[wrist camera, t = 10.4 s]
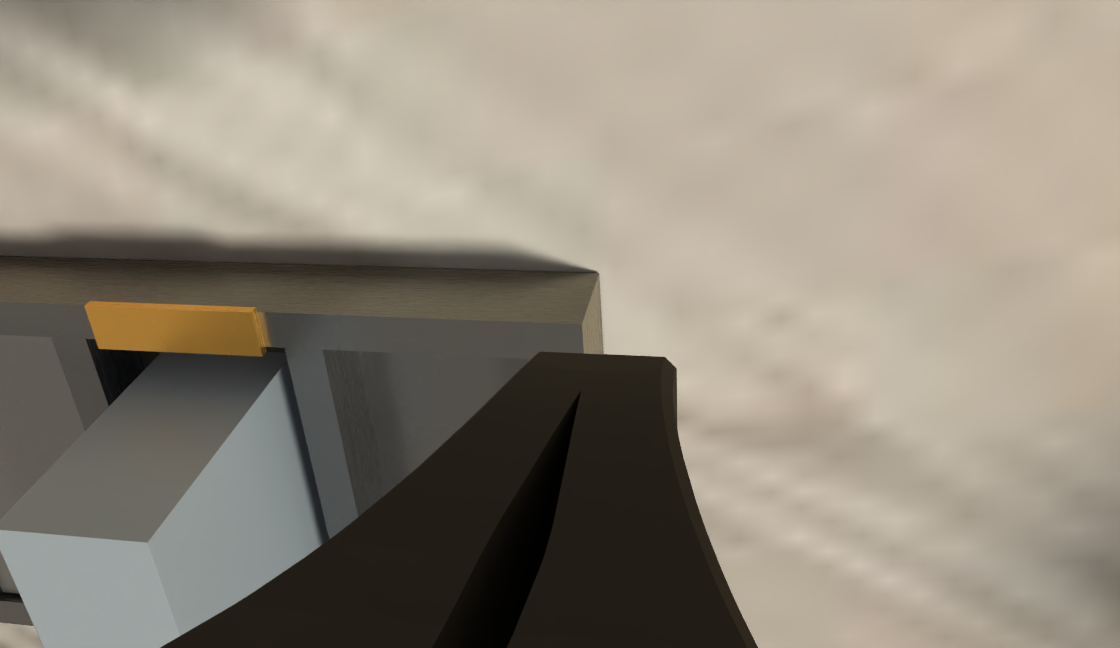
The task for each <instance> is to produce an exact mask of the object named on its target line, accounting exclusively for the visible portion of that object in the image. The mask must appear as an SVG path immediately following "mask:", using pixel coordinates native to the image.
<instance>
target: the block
mask: <svg viewBox="0 0 1120 648" xmlns="http://www.w3.org/2000/svg"><path fill="white" fill-rule="evenodd" d="M328 540H329V536H328V532H327V527H326V523H325V519H324V514H323V510H322V506H321V502H320V497H319V493H318V489H317V485H316V480H315V476H314V472H313V468H312V463H311V459H310V455H309V450H308V446H307V442H306V438H305V433H304V429H303V425H302V421H301V416H300V412H299V408H298V404H297V399H296V395H295V391H294V386H293V382H292V378H291V374H290V369H289V365H288V361H287V357H286V353H281V352H266V353H265V354H264V355H263V356H262V357H260V356H239V355H218V354H196V353H175V352H161V353H160V354H159V355H158V356H157V357H156V358H155V359H154V360H153V361H152V362H151V364H150V365H149V366H148V367H147V368H146V369H145V370H144V371H143V372H142V373H141V374H140V375H139V376H138V377H137V378H136V379H135V380H134V381H133V382H132V383H131V384H130V385H129V386H128V387H127V388H126V389H125V390H124V391H123V393H122V394H121V395H120V396H119V397H118V398H117V399H116V400H115V401H114V402H113V403H112V404H111V405H110V406H109V407H108V408H107V409H106V410H105V411H104V412H103V413H102V414H101V415H100V416H99V417H98V418H97V419H96V421H95V422H94V423H93V424H92V425H91V426H90V427H89V428H88V429H87V430H86V431H85V432H84V433H83V434H82V435H81V436H80V437H79V438H78V439H77V440H76V441H75V442H74V443H73V444H72V445H71V446H70V447H69V448H68V450H67V451H66V452H65V453H64V454H63V455H62V456H61V457H60V458H59V459H58V460H57V461H56V462H55V463H54V464H53V465H52V466H51V467H50V468H49V469H48V470H47V471H46V472H45V473H44V474H43V475H42V476H41V477H40V479H39V480H38V481H37V482H36V483H35V484H34V485H33V486H32V487H31V488H30V489H29V490H28V491H27V492H26V493H25V494H24V495H23V496H22V497H21V498H20V499H19V500H18V501H17V502H16V503H15V504H14V505H13V507H12V508H11V509H10V510H9V511H8V512H7V513H6V514H5V515H4V516H3V517H2V518H1V519H0V551H1V553H2V555H3V558H4V560H5V562H6V564H7V567H8V569H9V571H10V573H11V575H12V578H13V580H14V582H15V584H16V587H17V589H18V591H19V593H20V596H21V598H22V600H23V602H24V605H25V607H26V609H27V611H28V614H29V616H30V618H31V620H32V622H33V625H34V627H35V629H36V631H37V634H38V636H39V638H40V640H41V643H42V645H43V647H44V648H160V647H162V646H164V645H165V644H167V643H169V642H171V641H172V640H174V639H176V638H177V637H179V636H181V635H183V634H184V633H186V632H188V631H189V630H191V629H193V628H195V627H196V626H198V625H200V624H201V623H203V622H205V621H207V620H208V619H210V618H212V617H213V616H215V615H217V614H219V613H220V612H222V611H224V610H225V609H227V608H229V607H231V606H232V605H234V604H236V603H237V602H239V601H240V600H242V599H243V598H245V597H247V596H248V595H250V594H251V593H253V592H254V591H256V590H257V589H259V588H260V587H262V586H263V585H265V584H266V583H268V582H269V581H271V580H272V579H274V578H275V577H277V576H278V575H279V574H281V573H282V572H284V571H285V570H287V569H288V568H290V567H291V566H293V565H294V564H296V563H297V562H299V561H300V560H302V559H303V558H305V557H306V556H307V555H309V554H310V553H311V552H313V551H314V550H316V549H317V548H318V547H320V546H321V545H322V544H324V543H325V542H327V541H328Z"/></svg>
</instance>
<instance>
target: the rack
mask: <svg viewBox="0 0 1120 648" xmlns="http://www.w3.org/2000/svg"><path fill="white" fill-rule="evenodd" d="M161 352H175V353H196V354H218V355H239V356H260V357H262V356H263V355H264V354H265V353H266V352H281V353H286V357H287V361H288V365H289V369H290V374H291V378H292V382H293V386H294V391H295V395H296V399H297V404H298V408H299V412H300V416H301V421H302V425H303V429H304V433H305V438H306V442H307V446H308V450H309V455H310V459H311V463H312V468H313V472H314V476H315V480H316V485H317V489H318V493H319V497H320V502H321V506H322V510H323V514H324V519H325V523H326V527H327V532H328V536H329V539H331V538H332V537H333V536H335V535H336V534H337V533H339V532H340V531H341V530H343V529H344V528H345V527H346V526H348V525H349V524H350V523H352V522H353V521H354V520H355V519H356V518H358V517H359V516H360V515H361V514H362V513H364V512H365V511H366V510H367V509H368V508H370V507H371V506H372V505H373V504H375V503H376V502H377V501H378V500H379V499H381V498H382V497H383V496H384V495H385V494H387V493H388V492H389V491H390V490H391V489H393V488H394V487H395V486H396V485H397V484H399V483H400V482H401V481H402V480H403V479H405V478H406V477H407V476H408V475H409V474H410V473H411V472H413V471H414V470H415V469H416V468H417V467H418V466H419V465H420V464H421V463H423V462H424V461H425V460H426V459H427V458H428V457H429V456H430V455H431V454H432V453H433V452H434V451H436V450H437V449H438V448H439V447H440V446H441V445H442V444H443V443H444V442H445V441H446V440H447V439H449V438H450V437H451V436H452V435H453V434H454V433H455V432H456V431H457V430H458V429H459V428H460V427H462V426H463V425H464V424H465V423H466V422H467V421H468V420H469V419H470V418H471V417H472V416H473V415H474V414H475V413H476V412H477V411H478V410H479V409H480V408H481V407H482V406H483V405H484V404H485V403H486V402H487V401H488V400H489V399H490V398H491V397H492V396H493V395H494V394H495V393H496V392H497V391H499V390H500V389H501V388H502V387H503V386H504V385H505V384H506V383H507V382H508V381H509V380H510V379H511V378H512V377H513V376H514V375H515V374H516V373H517V372H518V371H519V370H520V369H521V368H522V367H523V366H524V365H525V364H526V363H528V362H529V361H530V360H531V359H532V358H533V357H534V356H535V355H536V354H537V353H539V352H561V353H584V354H603V337H602V319H601V300H600V282H599V273H570V272H535V271H500V270H465V269H431V268H396V267H361V266H326V265H291V264H256V263H222V262H187V261H152V260H117V259H82V258H47V257H13V256H0V519H1V518H2V517H3V516H4V515H5V514H6V513H7V512H8V511H9V510H10V509H11V508H12V507H13V505H14V504H15V503H16V502H17V501H18V500H19V499H20V498H21V497H22V496H23V495H24V494H25V493H26V492H27V491H28V490H29V489H30V488H31V487H32V486H33V485H34V484H35V483H36V482H37V481H38V480H39V479H40V477H41V476H42V475H43V474H44V473H45V472H46V471H47V470H48V469H49V468H50V467H51V466H52V465H53V464H54V463H55V462H56V461H57V460H58V459H59V458H60V457H61V456H62V455H63V454H64V453H65V452H66V451H67V450H68V448H69V447H70V446H71V445H72V444H73V443H74V442H75V441H76V440H77V439H78V438H79V437H80V436H81V435H82V434H83V433H84V432H85V431H86V430H87V429H88V428H89V427H90V426H91V425H92V424H93V423H94V422H95V421H96V419H97V418H98V417H99V416H100V415H101V414H102V413H103V412H104V411H105V410H106V409H107V408H108V407H109V406H110V405H111V404H112V403H113V402H114V401H115V400H116V399H117V398H118V397H119V396H120V395H121V394H122V393H123V391H124V390H125V389H126V388H127V387H128V386H129V385H130V384H131V383H132V382H133V381H134V380H135V379H136V378H137V377H138V376H139V375H140V374H141V373H142V372H143V371H144V370H145V369H146V368H147V367H148V366H149V365H150V364H151V362H152V361H153V360H154V359H155V358H156V357H157V356H158V355H159V354H160V353H161ZM0 622H2V623H11V624H21V625H30V626H34V625H33V622H32V620H31V618H30V616H29V614H28V611H27V609H26V607H25V605H24V602H23V600H22V598H21V596H20V593H19V591H18V589H17V587H16V584H15V582H14V580H13V578H12V575H11V573H10V571H9V569H8V567H7V564H6V562H5V560H4V558H3V555H2V553H1V551H0Z"/></svg>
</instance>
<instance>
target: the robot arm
mask: <svg viewBox="0 0 1120 648" xmlns="http://www.w3.org/2000/svg"><path fill="white" fill-rule="evenodd" d="M160 648H758V647H757V645H756V643H755V641H754V639H753V637H752V635H751V633H750V631H749V629H748V627H747V625H746V623H745V621H744V619H743V617H742V615H741V613H740V610H739V608H738V606H737V604H736V602H735V600H734V597H733V595H732V593H731V591H730V588H729V586H728V584H727V581H726V579H725V577H724V574H723V572H722V570H721V567H720V565H719V562H718V560H717V557H716V555H715V552H714V550H713V547H712V545H711V542H710V539H709V537H708V534H707V532H706V529H705V526H704V523H703V521H702V518H701V515H700V512H699V509H698V506H697V503H696V500H695V496H694V493H693V490H692V486H691V483H690V479H689V476H688V472H687V469H686V466H685V462H684V459H683V454H682V450H681V446H680V442H679V437H678V431H677V373H676V368H675V367H674V366H673V365H672V364H671V363H670V362H669V361H668V360H667V359H666V358H665V357H652V356H629V355H607V354H584V353H561V352H539V353H537V354H536V355H535V356H534V357H533V358H532V359H531V360H530V361H529V362H528V363H526V364H525V365H524V366H523V367H522V368H521V369H520V370H519V371H518V372H517V373H516V374H515V375H514V376H513V377H512V378H511V379H510V380H509V381H508V382H507V383H506V384H505V385H504V386H503V387H502V388H501V389H500V390H499V391H497V392H496V393H495V394H494V395H493V396H492V397H491V398H490V399H489V400H488V401H487V402H486V403H485V404H484V405H483V406H482V407H481V408H480V409H479V410H478V411H477V412H476V413H475V414H474V415H473V416H472V417H471V418H470V419H469V420H468V421H467V422H466V423H465V424H464V425H463V426H462V427H460V428H459V429H458V430H457V431H456V432H455V433H454V434H453V435H452V436H451V437H450V438H449V439H447V440H446V441H445V442H444V443H443V444H442V445H441V446H440V447H439V448H438V449H437V450H436V451H434V452H433V453H432V454H431V455H430V456H429V457H428V458H427V459H426V460H425V461H424V462H423V463H421V464H420V465H419V466H418V467H417V468H416V469H415V470H414V471H413V472H411V473H410V474H409V475H408V476H407V477H406V478H405V479H403V480H402V481H401V482H400V483H399V484H397V485H396V486H395V487H394V488H393V489H391V490H390V491H389V492H388V493H387V494H385V495H384V496H383V497H382V498H381V499H379V500H378V501H377V502H376V503H375V504H373V505H372V506H371V507H370V508H368V509H367V510H366V511H365V512H364V513H362V514H361V515H360V516H359V517H358V518H356V519H355V520H354V521H353V522H352V523H350V524H349V525H348V526H346V527H345V528H344V529H343V530H341V531H340V532H339V533H337V534H336V535H335V536H333V537H332V538H331V539H329V540H328V541H327V542H325V543H324V544H322V545H321V546H320V547H318V548H317V549H316V550H314V551H313V552H311V553H310V554H309V555H307V556H306V557H305V558H303V559H302V560H300V561H299V562H297V563H296V564H294V565H293V566H291V567H290V568H288V569H287V570H285V571H284V572H282V573H281V574H279V575H278V576H277V577H275V578H274V579H272V580H271V581H269V582H268V583H266V584H265V585H263V586H262V587H260V588H259V589H257V590H256V591H254V592H253V593H251V594H250V595H248V596H247V597H245V598H243V599H242V600H240V601H239V602H237V603H236V604H234V605H232V606H231V607H229V608H227V609H225V610H224V611H222V612H220V613H219V614H217V615H215V616H213V617H212V618H210V619H208V620H207V621H205V622H203V623H201V624H200V625H198V626H196V627H195V628H193V629H191V630H189V631H188V632H186V633H184V634H183V635H181V636H179V637H177V638H176V639H174V640H172V641H171V642H169V643H167V644H165V645H164V646H162V647H160Z"/></svg>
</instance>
